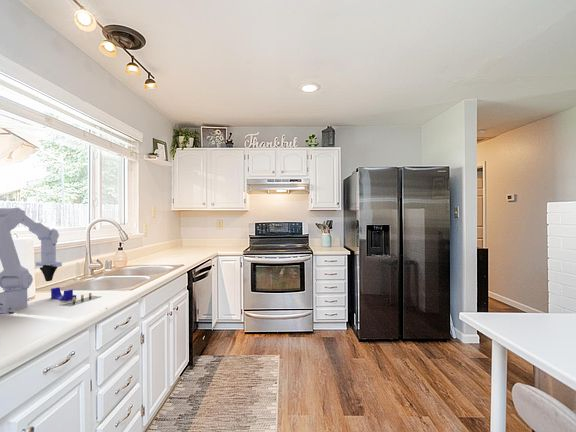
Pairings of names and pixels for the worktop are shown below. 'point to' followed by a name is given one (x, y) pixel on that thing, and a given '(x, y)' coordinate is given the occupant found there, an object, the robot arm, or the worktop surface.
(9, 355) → the worktop surface
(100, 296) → the header plate
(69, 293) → the cable clip
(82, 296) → the header pins
